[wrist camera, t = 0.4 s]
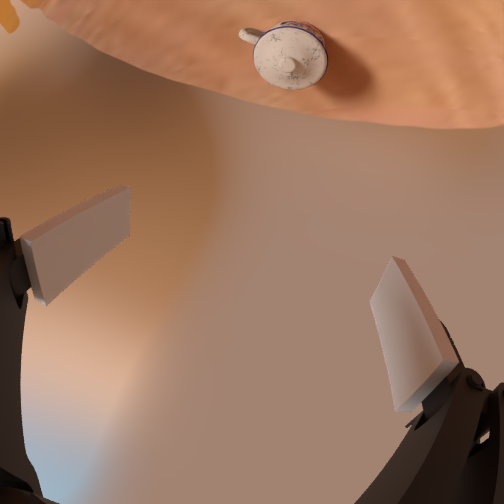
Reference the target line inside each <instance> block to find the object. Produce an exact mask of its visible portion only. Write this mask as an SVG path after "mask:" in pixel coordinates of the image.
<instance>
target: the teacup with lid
mask: <svg viewBox="0 0 504 504" xmlns="http://www.w3.org/2000/svg"><path fill="white" fill-rule="evenodd" d="M239 37H240V38H241V39H243V40H245V41H247V42H249V43H251V44H254V45H255V47H254V52H253V59H254V64H255V66H256V69H257V70H258V72H259V73H260V75H261V76H262V77H263V78H264V79H265V80H266V81H268V82H269V83H271V84H272V85H274V86H277V87H279V88H283V89H288V90H299V89H304V88H307V87H310V86H312V85H314V84H315V83H317V82H318V81H319V80H320V79H321V78H322V77H323V76H324V74H325V72H326V70H327V66H328V55H327V51H326V49H325V41H324V39H323V36H322V35H321V33H320V32H319V31H318V30H317V29H316V28H315V27H314V26H313V25H311V24H309V23H307V22H304V21H300V20H286V21H282V22H280V23H278V24H276V25H275V26H274V27H273V28H272V29H271V30H269V31H267V32H265V31H262V30H258V29H254V28H243V29H241V30H240V32H239Z"/></svg>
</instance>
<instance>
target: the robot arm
mask: <svg viewBox="0 0 504 504" xmlns="http://www.w3.org/2000/svg"><path fill="white" fill-rule="evenodd" d="M130 199H131V187H127V186H122V185H118V186H116V187H114V188H111V189H109V190H107V191H105V192H102V193H100V194H98V195H96V196H94V197H92V198H90V199H88V200H85V201H84V202H81V203H79V204H77V205H75V206H73V207H71V208H69V209H67V210H66V211H64V212H62V213H60V214H58V215H56V216H54V217H52V218H51V219H49V220H47V221H45V222H43V223H42V224H40V225H38V226H36V227H35V228H33V229H31V230H30V231H28V232H26V233H25V234H23V235H21V236H20V238H19V239H18V240H16V241H14V239H13V234H12V228H11V222H10V219H9V218H6V217H1V218H0V504H59V503H56V502H53V501H51V500H48V499H46V498H43V495H42V491H41V488H40V484H39V480H38V477H37V474H36V472H35V469H34V467H33V466H32V464H31V462H30V461H29V459H28V457H27V454H26V450H25V444H24V436H23V427H22V417H21V416H22V415H21V395H20V394H21V393H20V377H21V376H20V374H21V353H22V341H23V331H24V322H25V315H26V309H27V303H28V294H27V290H28V289H29V288H30V287H31V288H32V291H33V294H34V298H35V299H36V300H37V301H39V302H40V303H42V304H44V305H45V306H47V305H48V304H49V303H50V302H51V301H52V300H54V299H55V298H56V297H57V296H58V295H59V294H60V293H61V292H62V291H64V290H65V289H66V288H67V287H68V286H69V285H70V284H71V283H72V282H74V281H75V280H76V279H77V278H78V277H79V276H81V275H82V274H83V273H84V272H85V271H87V270H88V269H89V268H90V267H91V266H92V265H94V264H95V263H96V262H97V261H98V260H100V259H101V258H102V257H104V256H105V255H106V254H107V253H109V252H110V251H111V250H112V249H114V248H115V247H116V246H117V245H119V244H120V243H121V242H123V241H124V240H125V239H127V238H128V237H129V236H130ZM370 305H371V309H372V312H373V316H374V319H375V323H376V327H377V330H378V334H379V338H380V342H381V346H382V350H383V354H384V359H385V363H386V367H387V372H388V377H389V382H390V387H391V392H392V397H393V402H394V408H395V412H412V411H413V410H414V409H415V408H416V407H417V406H418V405H419V404H420V403H421V402H422V406H423V411H422V412H421V413H420V414H419V415H417V416H416V417H415V418H414V419H413V420H412V421H410V422H409V423H408V424H407V425H406V426H405V427H406V428H408V427H409V426H410V425H412V426H411V428H410V430H409V431H408V433H407V434H406V436H405V437H404V439H403V441H402V442H401V444H400V445H399V447H398V449H397V450H396V451H395V453H394V454H393V456H392V457H391V458H390V460H389V461H388V463H387V464H386V465H385V467H384V468H383V470H382V471H381V472H380V473H379V475H378V476H377V477H376V479H375V480H374V481H373V482H372V484H371V485H370V486H369V487H368V489H367V490H366V491H365V492H364V493H363V494H362V495H361V497H360V498H359V499H358V500H357V501H356V502H355V503H354V504H504V383H500V384H499V385H498V386H497V387H496V388H495V389H494V390H493V391H491V390H488V389H486V388H485V384H484V381H483V379H482V378H481V376H480V375H479V374H478V373H477V372H476V371H474V370H473V369H470V368H465V367H464V364H463V362H462V360H461V358H460V355H459V353H458V351H457V349H456V347H455V345H454V343H453V341H452V338H450V334H449V332H448V330H447V328H446V327H445V326H444V324H443V323H442V322H441V321H440V320H439V319H438V317H437V315H436V313H435V311H434V309H433V307H432V305H431V304H430V302H429V300H428V298H427V296H426V295H425V293H424V291H423V289H422V288H421V286H420V284H419V283H418V281H417V279H416V278H415V276H414V274H413V273H412V271H411V269H410V268H409V266H408V265H407V263H406V261H405V260H403V259H400V258H397V257H394V256H392V257H391V259H390V261H389V263H388V266H387V268H386V269H385V272H384V274H383V276H382V278H381V280H380V282H379V284H378V286H377V288H376V290H375V292H374V294H373V296H372V298H371V300H370ZM489 431H490V433H489V434H490V435H489V438H488V439H487V440H485V441H484V442H483V443H481V444H480V438H481V437H482V436H484V435H485V434H486V433H487V432H489Z"/></svg>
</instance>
